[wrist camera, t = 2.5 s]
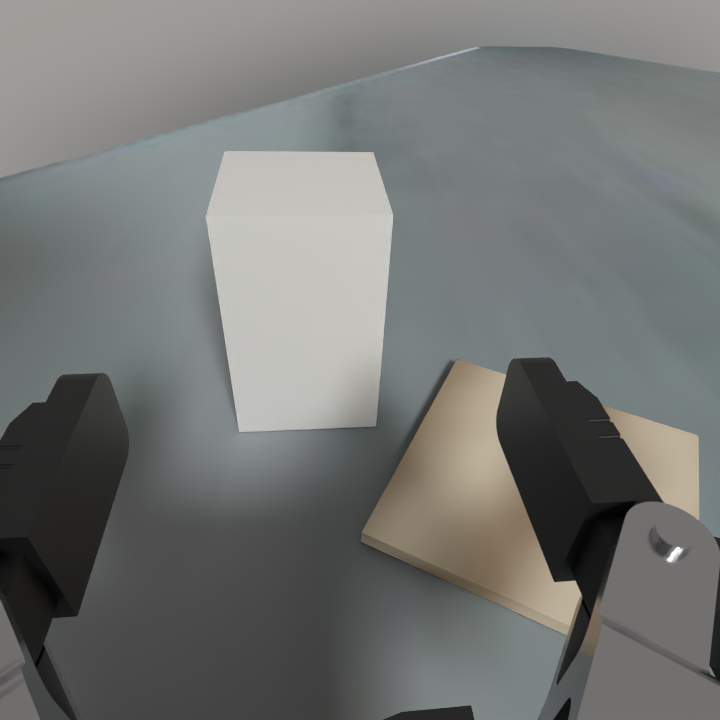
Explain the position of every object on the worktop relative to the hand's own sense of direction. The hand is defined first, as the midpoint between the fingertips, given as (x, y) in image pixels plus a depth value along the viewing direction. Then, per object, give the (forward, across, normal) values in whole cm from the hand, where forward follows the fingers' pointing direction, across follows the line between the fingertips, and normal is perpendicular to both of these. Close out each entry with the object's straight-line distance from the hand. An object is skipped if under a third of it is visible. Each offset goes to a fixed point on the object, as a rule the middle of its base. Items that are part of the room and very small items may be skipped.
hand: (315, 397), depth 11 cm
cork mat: (+5, -9, +10) cm, 14 cm away
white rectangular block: (+12, 0, +10) cm, 15 cm away
